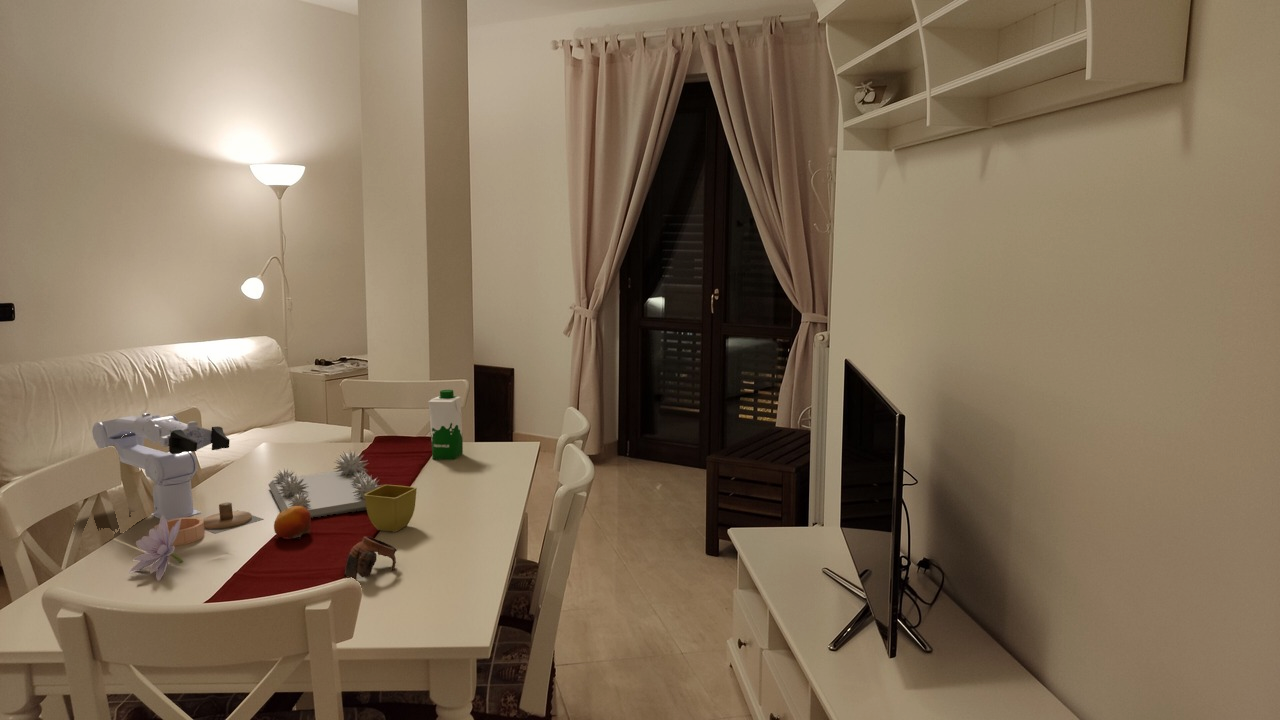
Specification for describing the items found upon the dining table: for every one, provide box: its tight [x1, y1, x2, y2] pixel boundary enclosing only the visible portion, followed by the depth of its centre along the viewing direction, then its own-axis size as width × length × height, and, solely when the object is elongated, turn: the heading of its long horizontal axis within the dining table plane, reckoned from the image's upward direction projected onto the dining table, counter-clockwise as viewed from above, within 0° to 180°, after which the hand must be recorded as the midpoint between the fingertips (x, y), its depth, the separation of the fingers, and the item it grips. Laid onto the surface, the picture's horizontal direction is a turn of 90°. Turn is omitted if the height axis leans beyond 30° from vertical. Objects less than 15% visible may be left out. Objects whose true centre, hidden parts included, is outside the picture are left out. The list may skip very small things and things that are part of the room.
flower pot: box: [364, 484, 417, 533], centre depth 205 cm, size 9×9×9 cm
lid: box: [203, 502, 253, 529], centre depth 212 cm, size 11×11×4 cm
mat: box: [205, 514, 265, 535], centre depth 212 cm, size 12×12×1 cm
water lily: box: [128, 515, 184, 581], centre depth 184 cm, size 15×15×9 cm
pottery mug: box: [344, 535, 397, 580], centre depth 178 cm, size 12×10×8 cm
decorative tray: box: [268, 449, 383, 519], centre depth 230 cm, size 35×26×10 cm
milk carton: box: [427, 389, 464, 461], centre depth 268 cm, size 9×9×20 cm
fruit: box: [273, 506, 312, 539], centre depth 202 cm, size 8×8×8 cm
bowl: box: [153, 516, 206, 547], centre depth 201 cm, size 10×10×4 cm
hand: (211, 445), depth 204 cm, fingers open, 7 cm apart
